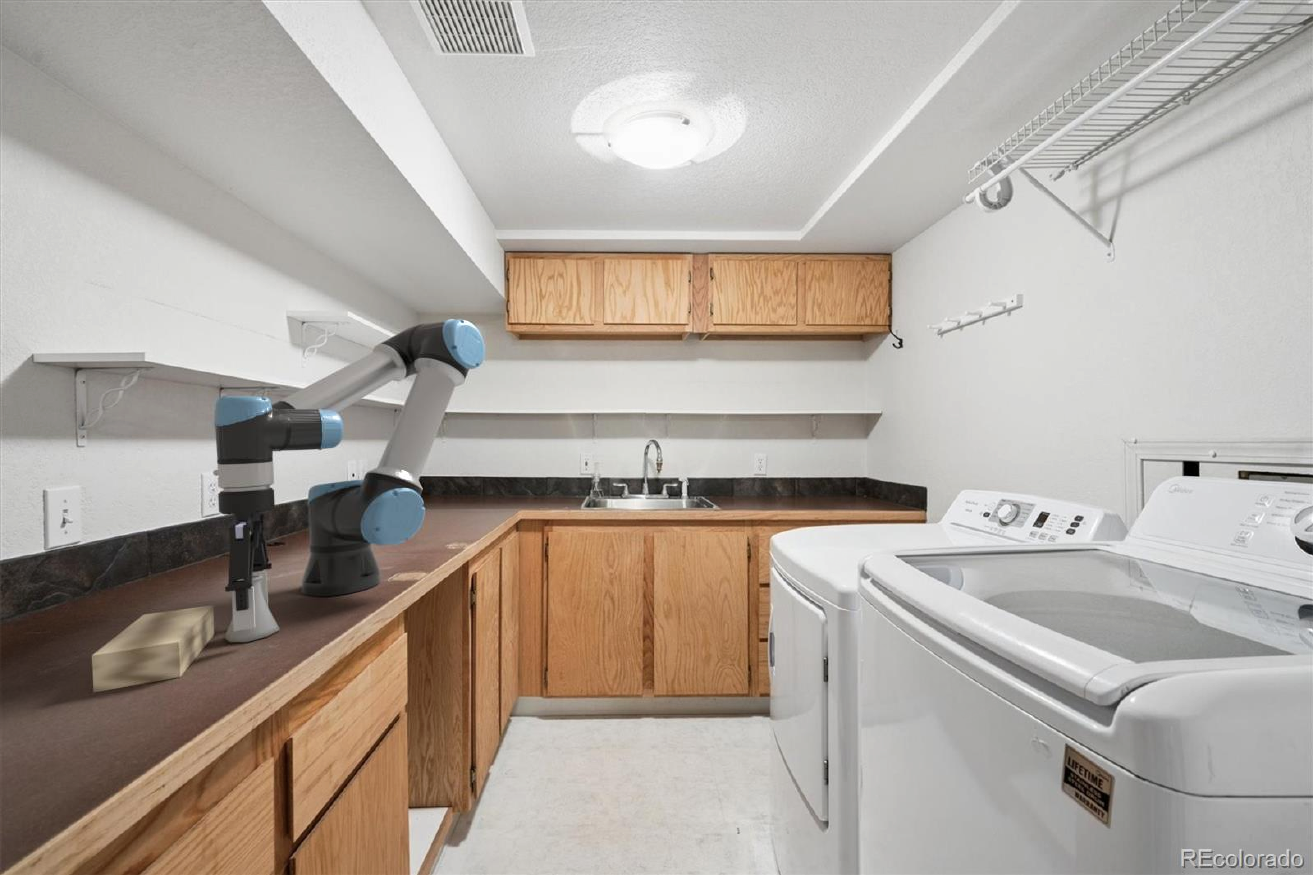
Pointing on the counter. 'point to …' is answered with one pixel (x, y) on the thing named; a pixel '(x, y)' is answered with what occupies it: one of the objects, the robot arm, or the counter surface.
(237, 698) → the counter surface
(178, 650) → the block
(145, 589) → the counter surface
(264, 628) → the flask
